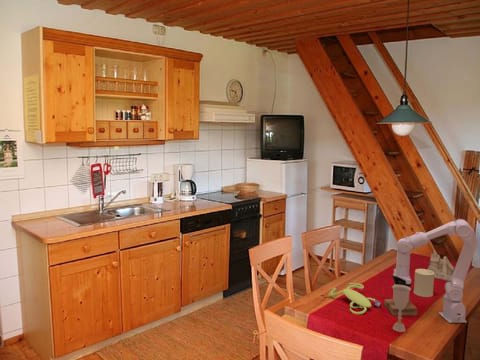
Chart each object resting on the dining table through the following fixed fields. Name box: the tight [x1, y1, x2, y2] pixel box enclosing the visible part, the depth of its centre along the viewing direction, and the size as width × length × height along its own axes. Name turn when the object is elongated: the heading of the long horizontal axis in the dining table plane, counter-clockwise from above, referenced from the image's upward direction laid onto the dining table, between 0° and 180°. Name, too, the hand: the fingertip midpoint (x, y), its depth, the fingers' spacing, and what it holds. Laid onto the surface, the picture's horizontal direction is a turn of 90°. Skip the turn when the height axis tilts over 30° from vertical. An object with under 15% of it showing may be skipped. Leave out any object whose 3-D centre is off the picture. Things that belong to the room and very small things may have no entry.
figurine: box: [327, 282, 382, 315], centre depth 206 cm, size 18×27×6 cm
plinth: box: [383, 298, 418, 316], centre depth 197 cm, size 11×11×3 cm
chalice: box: [392, 284, 412, 333], centre depth 178 cm, size 7×7×18 cm
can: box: [413, 268, 435, 298], centre depth 216 cm, size 9×9×12 cm
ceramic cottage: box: [427, 250, 455, 282], centre depth 244 cm, size 16×16×15 cm
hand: (401, 293), depth 196 cm, fingers closed on cube, 5 cm apart
